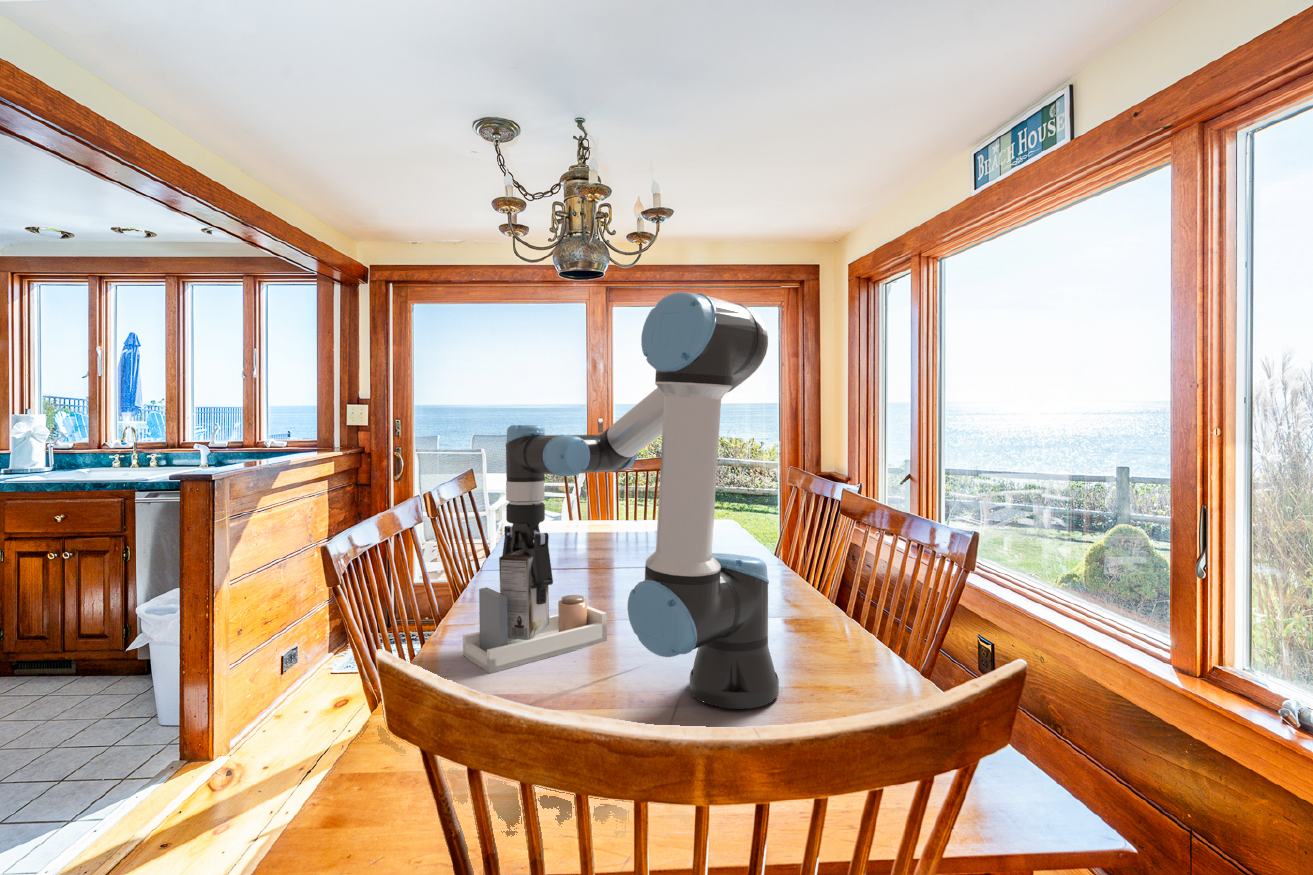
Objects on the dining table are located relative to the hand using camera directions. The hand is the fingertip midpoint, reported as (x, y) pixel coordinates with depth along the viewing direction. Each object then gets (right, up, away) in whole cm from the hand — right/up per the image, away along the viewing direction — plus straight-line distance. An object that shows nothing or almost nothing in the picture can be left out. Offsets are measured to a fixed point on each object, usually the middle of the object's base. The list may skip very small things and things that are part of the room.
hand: (525, 613), depth 125 cm
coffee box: (0, -4, 0) cm, 4 cm away
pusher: (-5, -6, -5) cm, 9 cm away
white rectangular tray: (+2, -7, +1) cm, 8 cm away
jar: (+9, -6, +7) cm, 13 cm away
